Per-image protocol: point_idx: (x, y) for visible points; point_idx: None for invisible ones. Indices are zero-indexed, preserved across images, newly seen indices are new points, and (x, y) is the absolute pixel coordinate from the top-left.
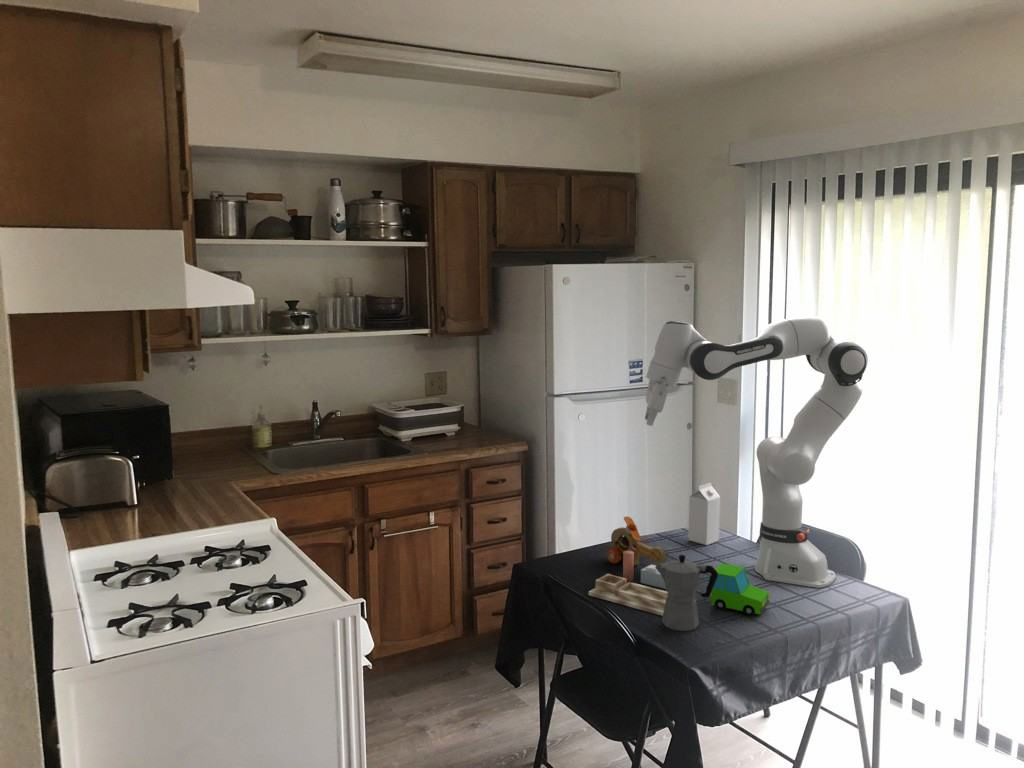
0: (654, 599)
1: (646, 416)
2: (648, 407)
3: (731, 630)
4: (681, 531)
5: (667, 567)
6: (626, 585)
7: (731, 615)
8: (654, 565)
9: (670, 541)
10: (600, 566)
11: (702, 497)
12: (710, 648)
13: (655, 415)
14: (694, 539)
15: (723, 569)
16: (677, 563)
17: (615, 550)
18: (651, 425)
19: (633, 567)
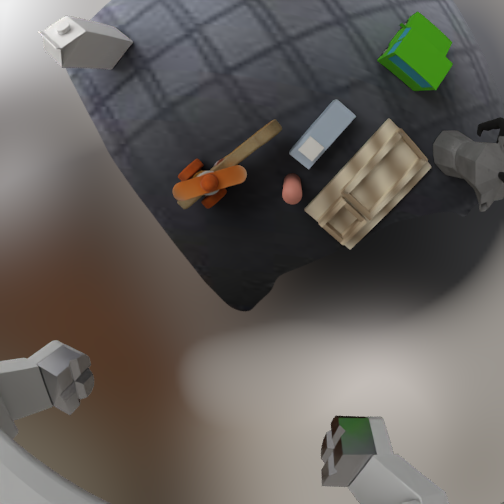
0: (411, 173)
1: (78, 397)
2: (15, 426)
3: (470, 98)
4: (77, 82)
5: (495, 198)
6: (356, 200)
7: None
8: (304, 145)
9: (116, 96)
10: (234, 214)
11: (71, 42)
12: None
13: (431, 493)
14: (116, 60)
15: (424, 65)
16: (499, 182)
17: (219, 198)
18: (379, 421)
19: (295, 179)
